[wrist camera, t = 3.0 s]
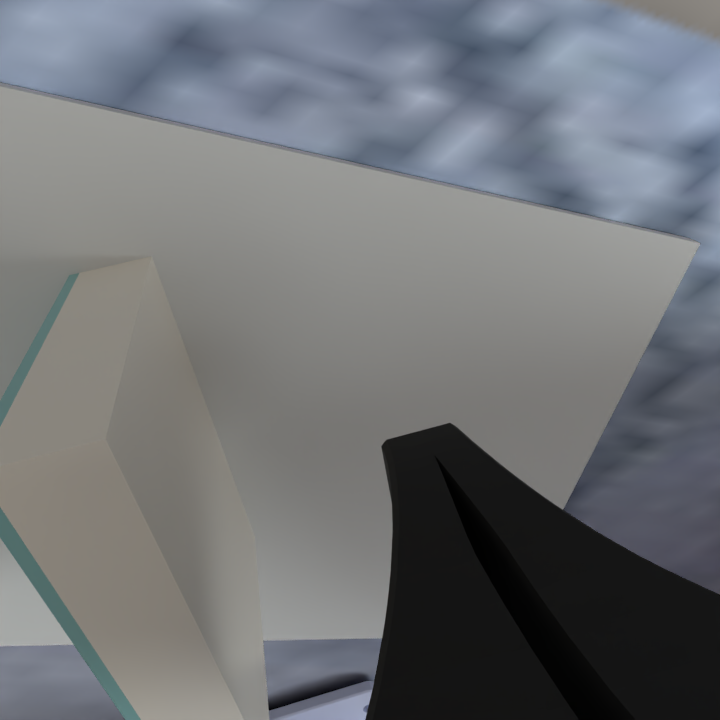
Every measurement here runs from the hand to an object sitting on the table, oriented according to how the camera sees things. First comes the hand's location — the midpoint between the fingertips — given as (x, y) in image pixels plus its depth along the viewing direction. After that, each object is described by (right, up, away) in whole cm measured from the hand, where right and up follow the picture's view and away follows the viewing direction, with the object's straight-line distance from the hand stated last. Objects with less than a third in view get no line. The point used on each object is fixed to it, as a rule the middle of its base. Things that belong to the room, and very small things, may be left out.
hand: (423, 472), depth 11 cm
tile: (-5, +1, +3) cm, 6 cm away
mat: (-4, 0, +4) cm, 6 cm away
